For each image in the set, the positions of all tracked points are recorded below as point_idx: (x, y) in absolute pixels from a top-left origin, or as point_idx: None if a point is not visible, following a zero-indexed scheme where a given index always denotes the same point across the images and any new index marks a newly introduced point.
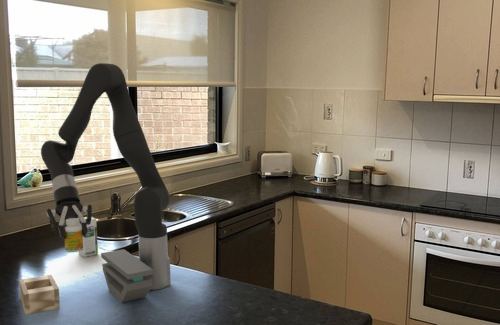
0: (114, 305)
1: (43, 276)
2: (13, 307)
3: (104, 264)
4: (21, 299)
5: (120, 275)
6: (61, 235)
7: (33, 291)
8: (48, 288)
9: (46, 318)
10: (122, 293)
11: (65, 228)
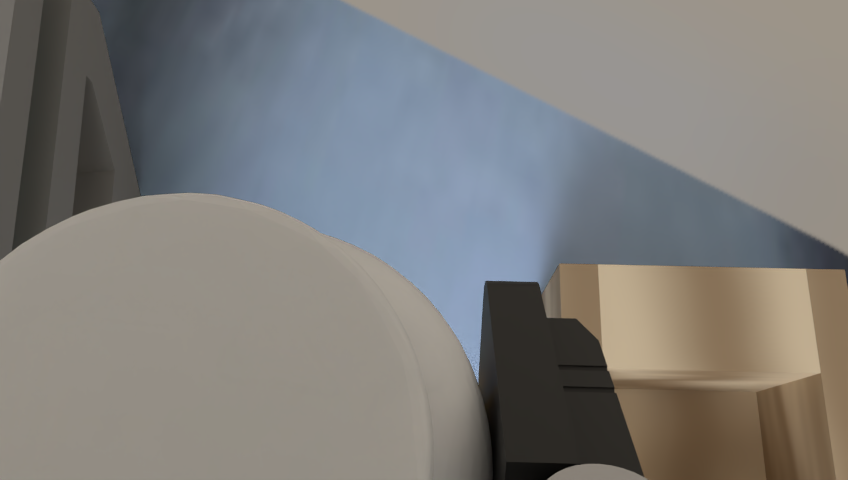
0: (199, 170)
1: None
2: None
3: None
4: None
5: (19, 190)
6: (573, 321)
7: (768, 306)
8: (641, 314)
9: (636, 179)
10: (112, 134)
11: (465, 408)
